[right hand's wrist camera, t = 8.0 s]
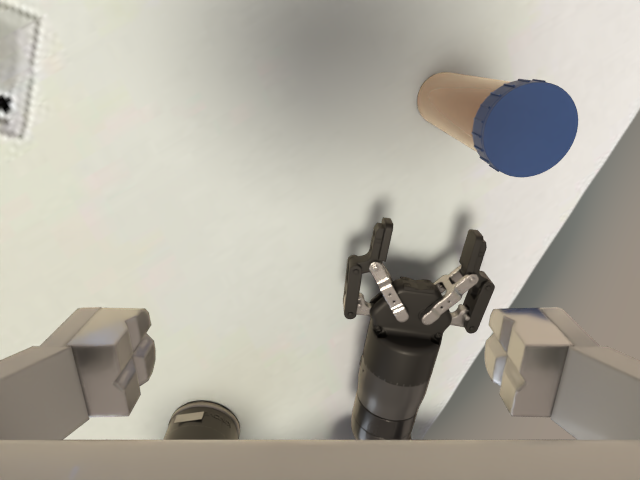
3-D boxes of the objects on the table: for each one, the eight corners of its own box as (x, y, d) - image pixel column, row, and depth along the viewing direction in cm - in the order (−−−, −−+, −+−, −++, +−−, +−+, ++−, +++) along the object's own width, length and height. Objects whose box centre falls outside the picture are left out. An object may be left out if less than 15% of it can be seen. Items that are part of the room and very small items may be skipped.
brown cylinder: (406, 104, 43) (467, 138, 26) (441, 60, 41) (530, 66, 24) (443, 135, 44) (524, 187, 27) (478, 93, 42) (587, 121, 25)
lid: (452, 135, 27) (462, 141, 25) (518, 58, 25) (534, 59, 24) (513, 186, 29) (527, 195, 27) (580, 117, 27) (599, 122, 25)
